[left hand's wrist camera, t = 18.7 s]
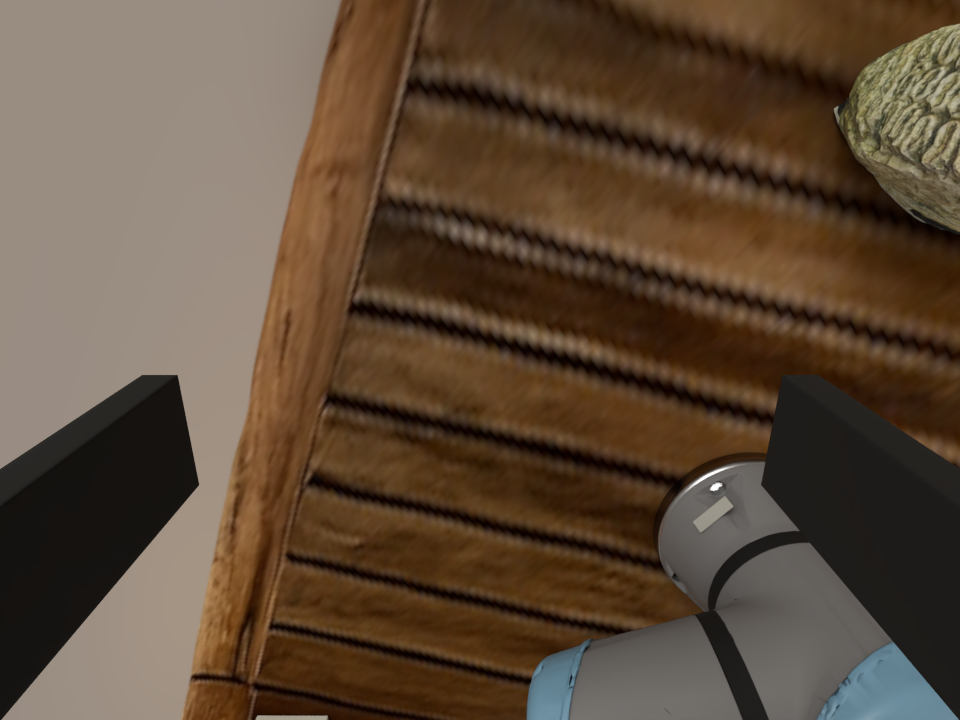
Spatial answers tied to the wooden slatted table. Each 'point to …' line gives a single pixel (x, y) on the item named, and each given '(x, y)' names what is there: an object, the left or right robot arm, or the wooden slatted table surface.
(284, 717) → the brick
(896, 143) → the fossil
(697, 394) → the wooden slatted table surface
